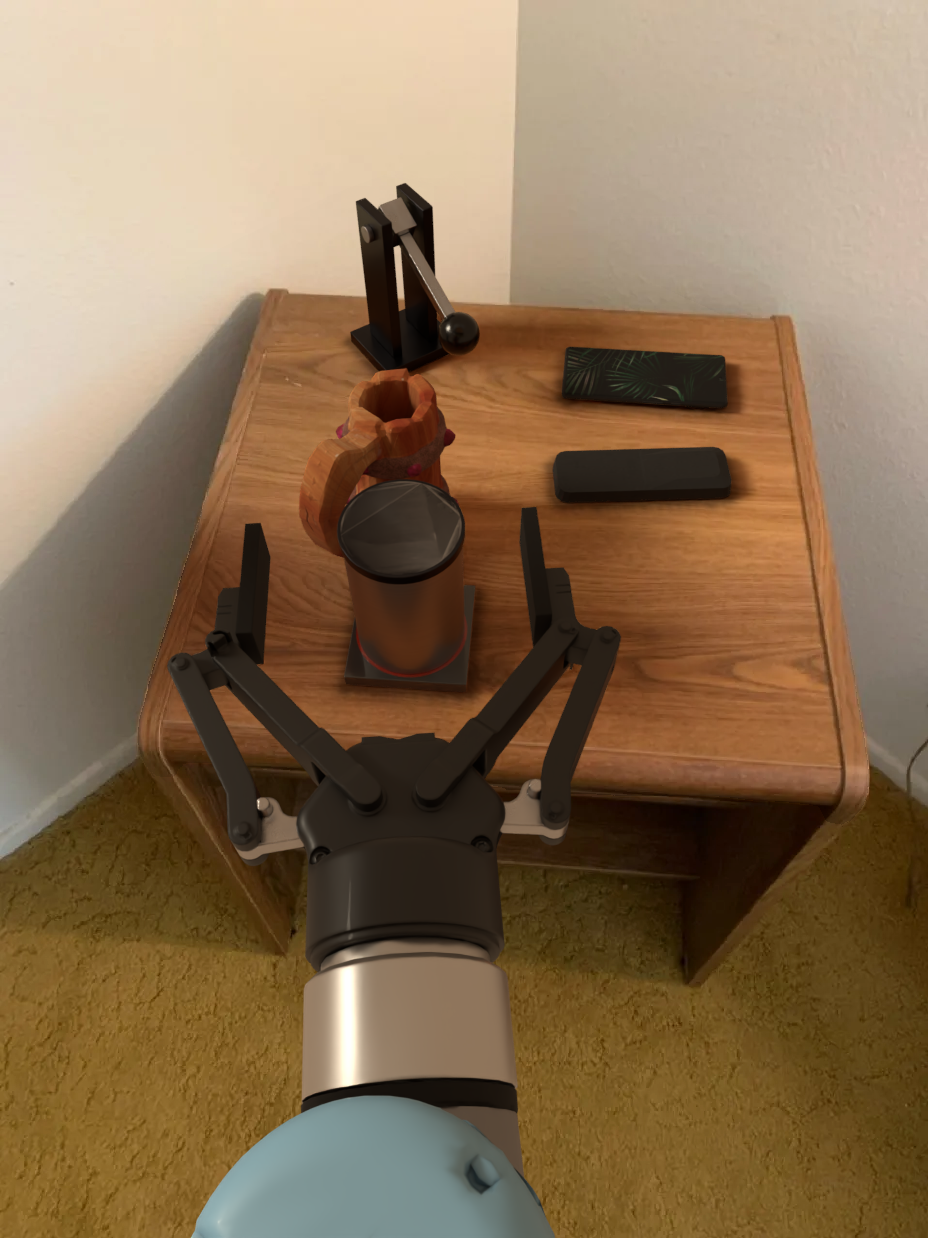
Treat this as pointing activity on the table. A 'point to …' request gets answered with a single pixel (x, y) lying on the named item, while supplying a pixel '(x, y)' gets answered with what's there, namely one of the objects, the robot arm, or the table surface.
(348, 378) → the table surface
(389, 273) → the switch
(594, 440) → the table surface
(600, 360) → the smartphone
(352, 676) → the hob
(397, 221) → the lever
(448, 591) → the lidded metal tumbler
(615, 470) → the remote control
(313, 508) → the mug
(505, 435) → the table surface
